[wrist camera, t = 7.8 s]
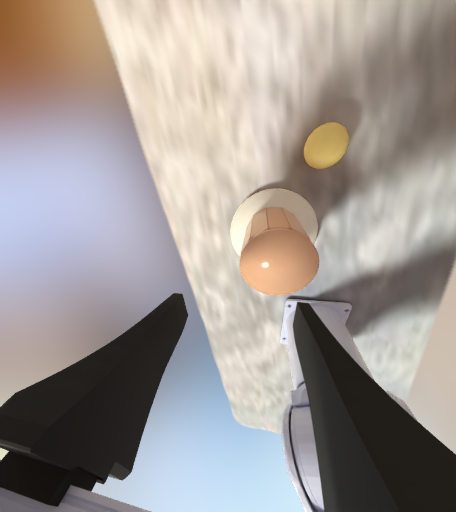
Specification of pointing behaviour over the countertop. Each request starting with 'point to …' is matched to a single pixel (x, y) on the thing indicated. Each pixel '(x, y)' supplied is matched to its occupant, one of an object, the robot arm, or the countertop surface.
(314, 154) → the ball
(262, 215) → the cup
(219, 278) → the countertop surface
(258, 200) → the dish
